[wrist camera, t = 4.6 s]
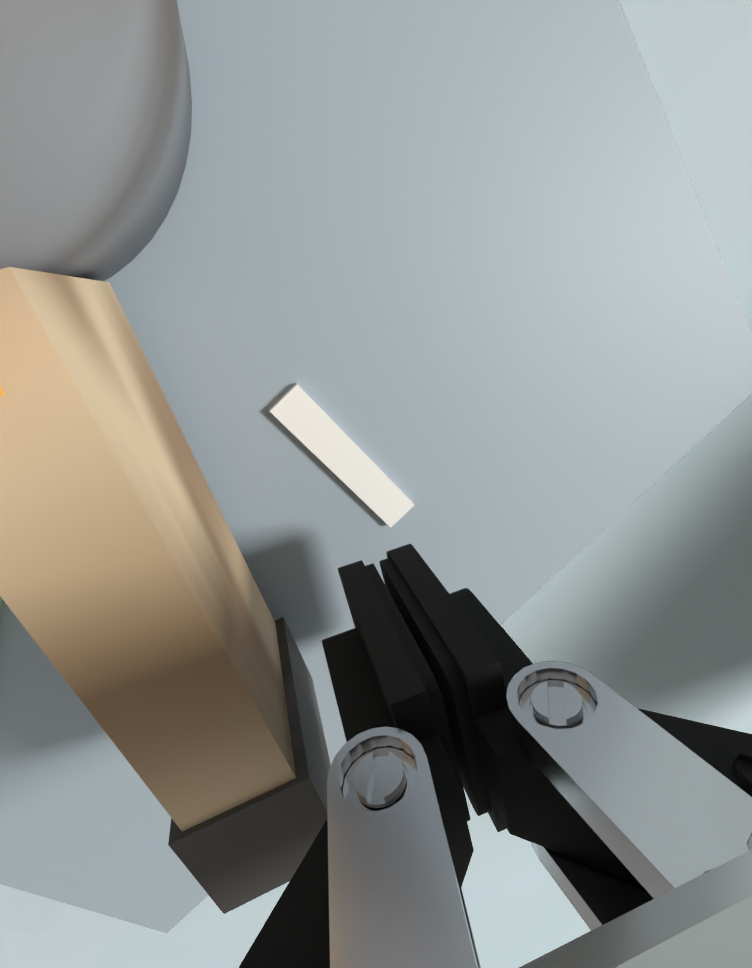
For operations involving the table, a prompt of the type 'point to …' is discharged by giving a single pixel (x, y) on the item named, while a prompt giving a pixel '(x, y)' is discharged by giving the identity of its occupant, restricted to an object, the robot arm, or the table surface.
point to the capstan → (132, 458)
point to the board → (391, 348)
